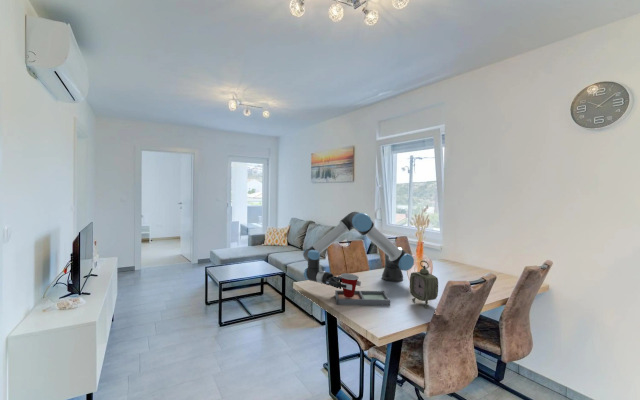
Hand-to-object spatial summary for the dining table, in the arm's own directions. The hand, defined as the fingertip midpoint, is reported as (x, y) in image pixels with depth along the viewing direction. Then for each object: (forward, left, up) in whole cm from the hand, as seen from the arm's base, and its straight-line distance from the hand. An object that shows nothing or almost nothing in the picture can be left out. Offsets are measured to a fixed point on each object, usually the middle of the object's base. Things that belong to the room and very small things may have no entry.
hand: (356, 285), depth 176 cm
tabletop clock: (-39, +2, -10) cm, 40 cm away
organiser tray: (-4, -3, -9) cm, 11 cm away
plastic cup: (+4, -3, -7) cm, 9 cm away
